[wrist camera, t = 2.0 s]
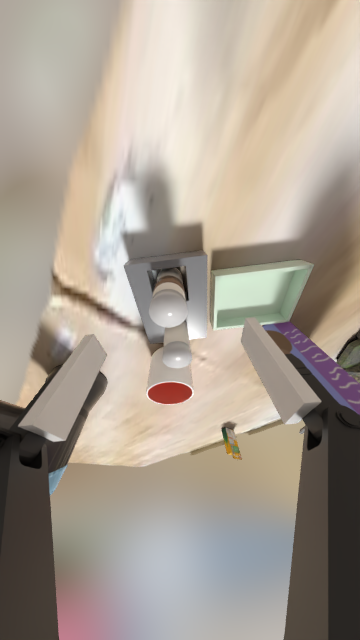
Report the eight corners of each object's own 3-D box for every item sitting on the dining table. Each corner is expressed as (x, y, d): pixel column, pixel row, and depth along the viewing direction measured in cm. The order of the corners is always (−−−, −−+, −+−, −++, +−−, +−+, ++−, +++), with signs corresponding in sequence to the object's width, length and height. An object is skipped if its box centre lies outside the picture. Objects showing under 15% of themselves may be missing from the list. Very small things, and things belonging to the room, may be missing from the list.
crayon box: (221, 428, 74) (228, 459, 65) (225, 427, 73) (233, 458, 63) (229, 431, 77) (237, 461, 68) (233, 429, 76) (242, 459, 66)
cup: (157, 339, 34) (153, 377, 26) (195, 348, 36) (201, 385, 28) (147, 363, 39) (141, 401, 31) (181, 370, 42) (183, 407, 33)
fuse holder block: (151, 332, 32) (144, 376, 23) (129, 259, 23) (102, 286, 14) (203, 326, 32) (215, 368, 23) (202, 250, 23) (222, 271, 14)
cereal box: (261, 326, 33) (390, 483, 13) (282, 315, 31) (464, 476, 12) (280, 361, 41) (375, 489, 22) (297, 354, 40) (417, 485, 20)
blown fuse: (159, 291, 26) (153, 329, 18) (154, 267, 24) (144, 297, 15) (183, 289, 26) (188, 325, 17) (180, 264, 24) (185, 292, 15)
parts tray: (210, 321, 31) (213, 330, 29) (211, 270, 24) (215, 276, 22) (279, 313, 31) (288, 321, 28) (299, 259, 24) (314, 264, 22)
